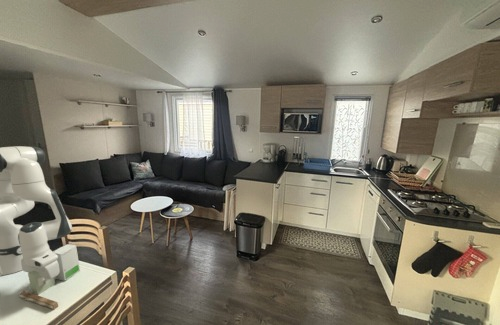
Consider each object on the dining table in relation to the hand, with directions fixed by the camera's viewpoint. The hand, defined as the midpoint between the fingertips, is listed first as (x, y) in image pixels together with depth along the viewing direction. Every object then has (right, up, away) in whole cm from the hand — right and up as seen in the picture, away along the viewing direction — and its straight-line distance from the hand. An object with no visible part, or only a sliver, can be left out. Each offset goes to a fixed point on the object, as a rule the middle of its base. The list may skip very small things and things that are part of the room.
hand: (42, 281), depth 99 cm
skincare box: (+4, -3, +10) cm, 11 cm away
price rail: (+5, -6, -7) cm, 10 cm away
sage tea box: (0, -4, +1) cm, 4 cm away
